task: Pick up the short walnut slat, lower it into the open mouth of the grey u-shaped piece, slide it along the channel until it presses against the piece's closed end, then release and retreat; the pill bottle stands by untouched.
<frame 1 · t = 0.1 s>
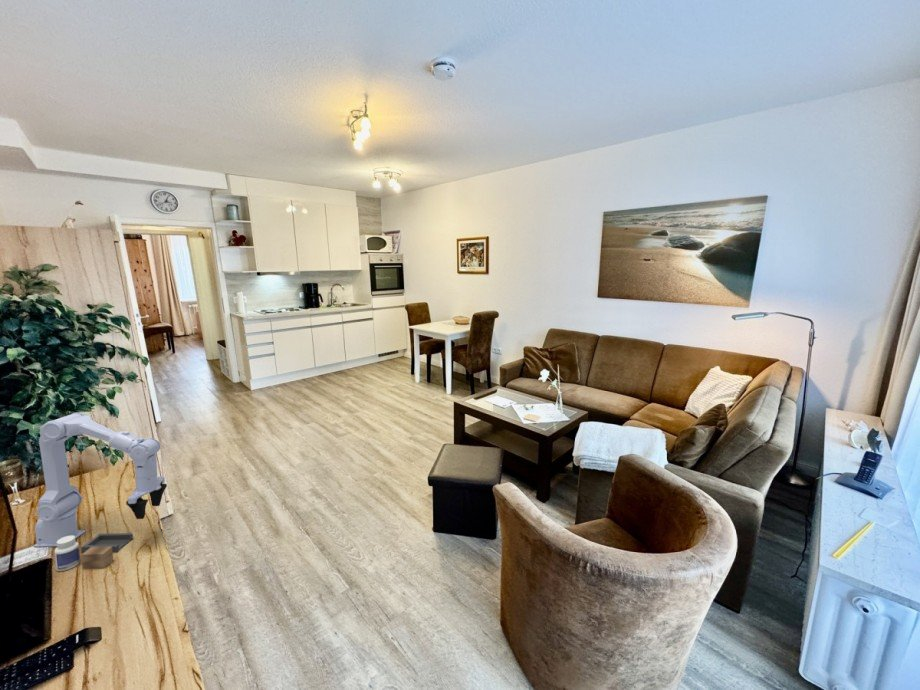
hand: (148, 511, 128), 10 cm above the table, fingers open, 7 cm apart
grey u-shaped piece: (107, 545, 125), on the table
pill bottle: (68, 566, 116), on the table
walnut slat: (98, 565, 117), on the table
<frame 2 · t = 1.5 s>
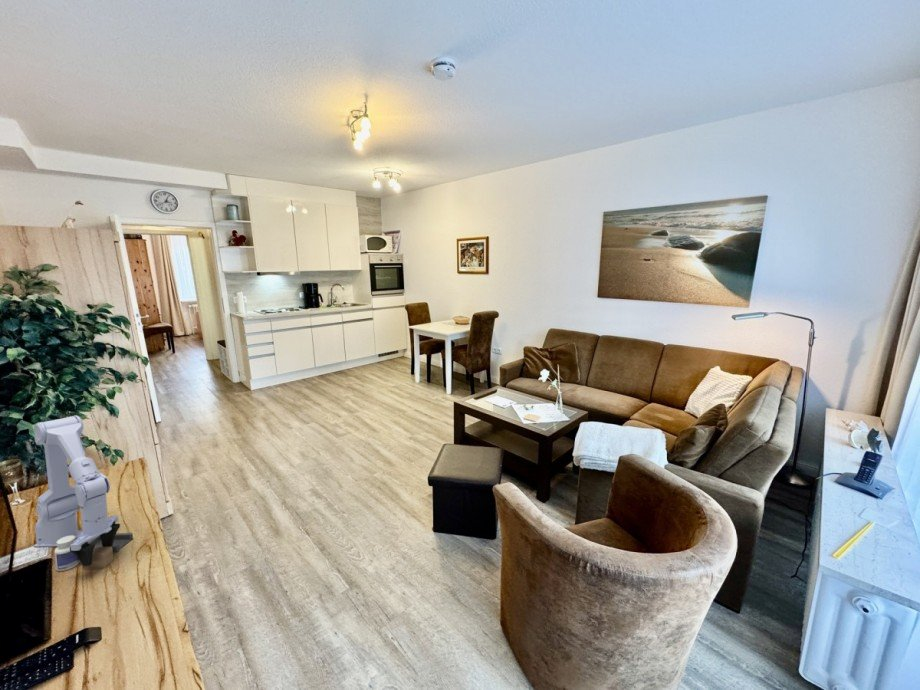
hand: (97, 556, 116), 3 cm above the table, fingers open, 7 cm apart
nothing on the table moved.
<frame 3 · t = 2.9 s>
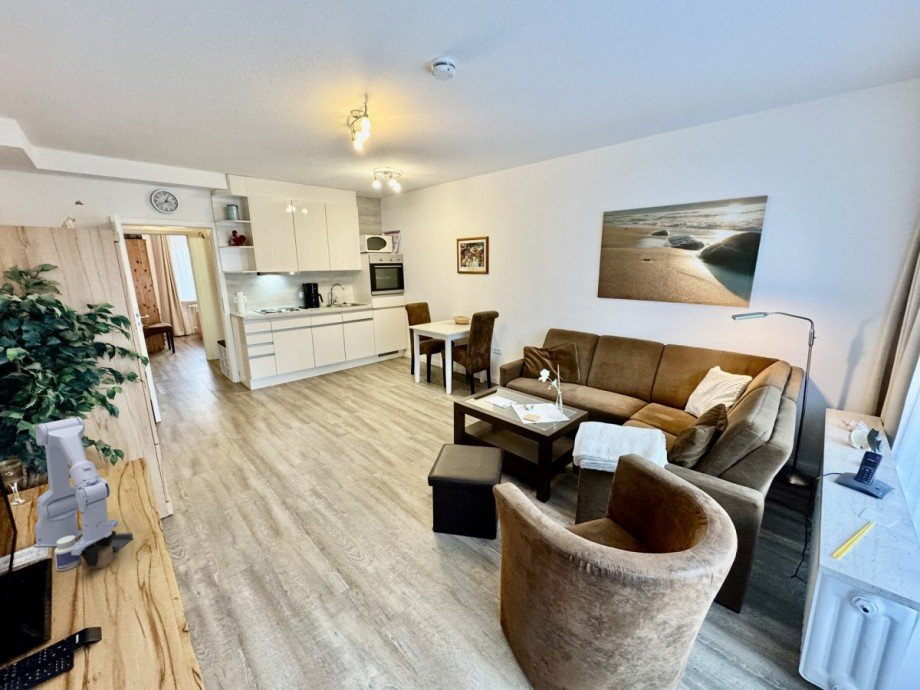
hand: (97, 560, 116), 1 cm above the table, fingers closed on walnut slat, 3 cm apart
walnut slat: (98, 564, 117), on the table, touching gripper
everything else where it was.
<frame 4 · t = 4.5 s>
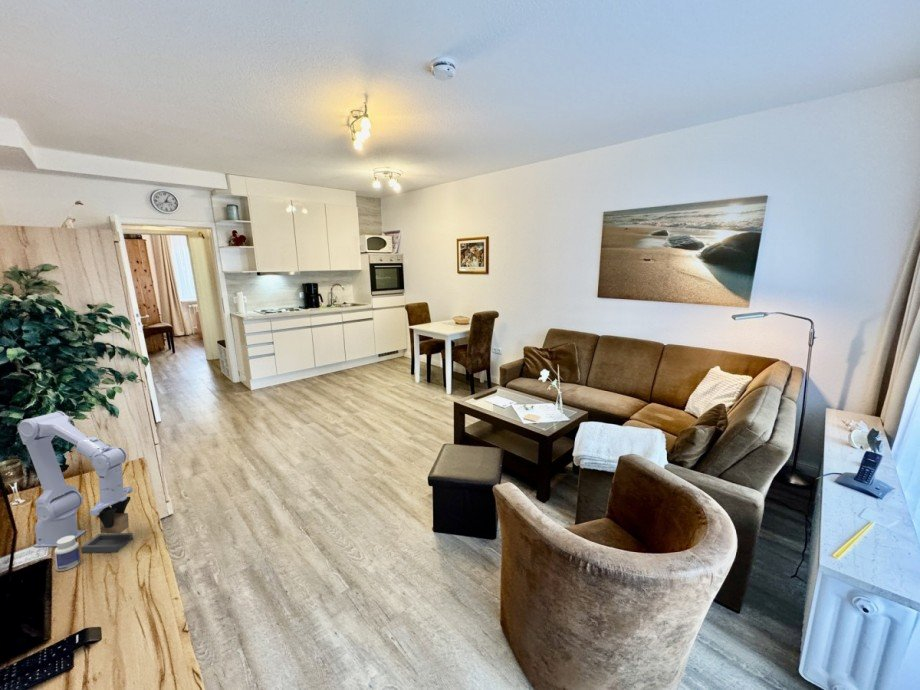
hand: (113, 523, 124), 8 cm above the table, fingers closed on walnut slat, 3 cm apart
walnut slat: (114, 529, 124), point 6 cm above the table, touching gripper
everything else where it was.
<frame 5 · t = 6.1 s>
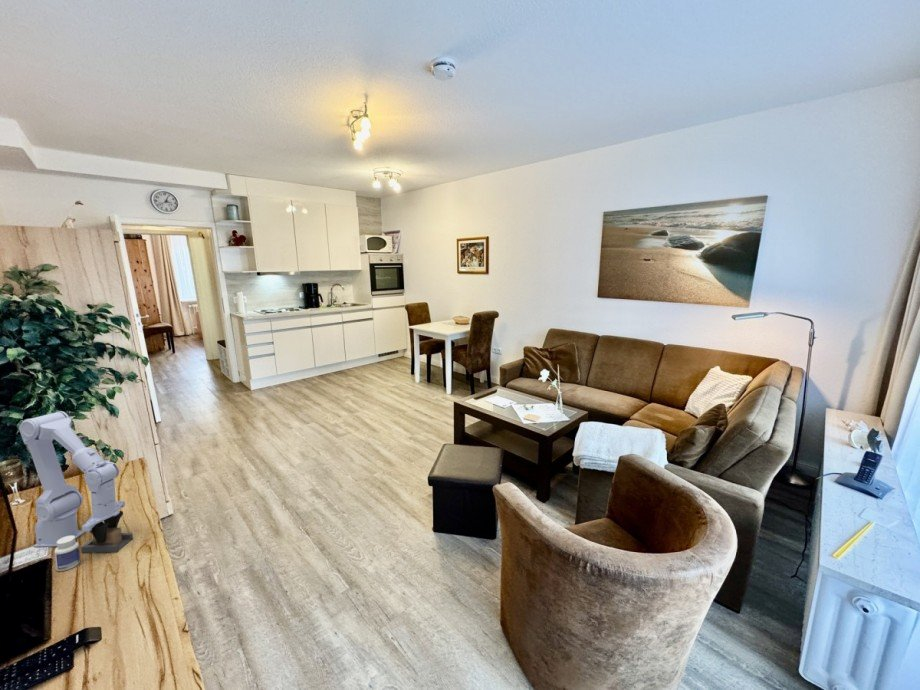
hand: (106, 538, 125), 3 cm above the table, fingers closed on walnut slat, 3 cm apart
walnut slat: (108, 544, 125), point 1 cm above the table, touching gripper
everything else where it was.
when the fingers open (3 cm above the table, at t = 6.6 s): walnut slat stays where it is, resting on grey u-shaped piece.
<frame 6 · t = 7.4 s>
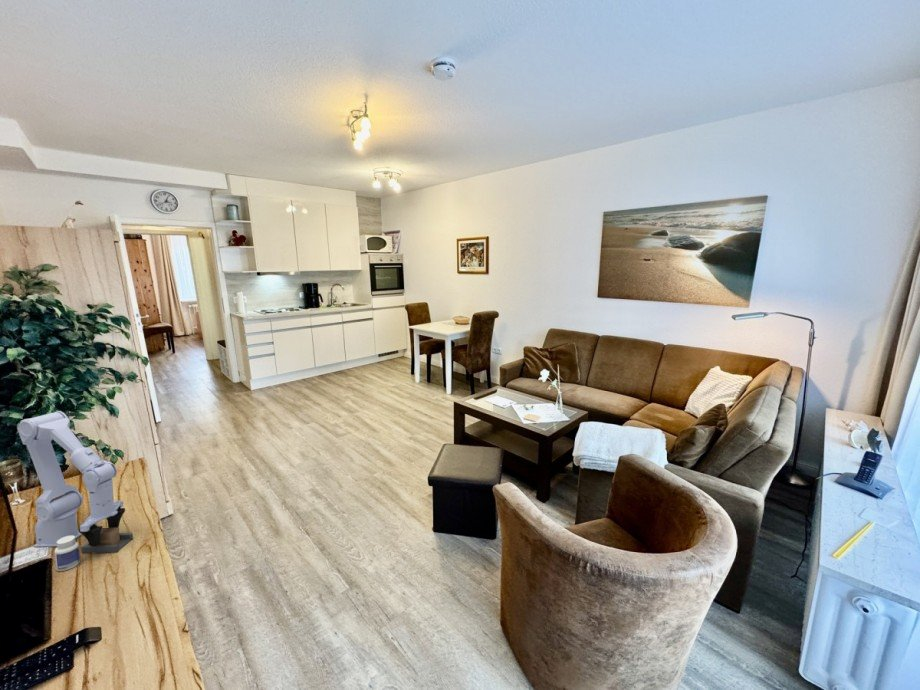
hand: (104, 538, 124), 3 cm above the table, fingers open, 7 cm apart
walnut slat: (106, 544, 125), resting on grey u-shaped piece
everything else where it was.
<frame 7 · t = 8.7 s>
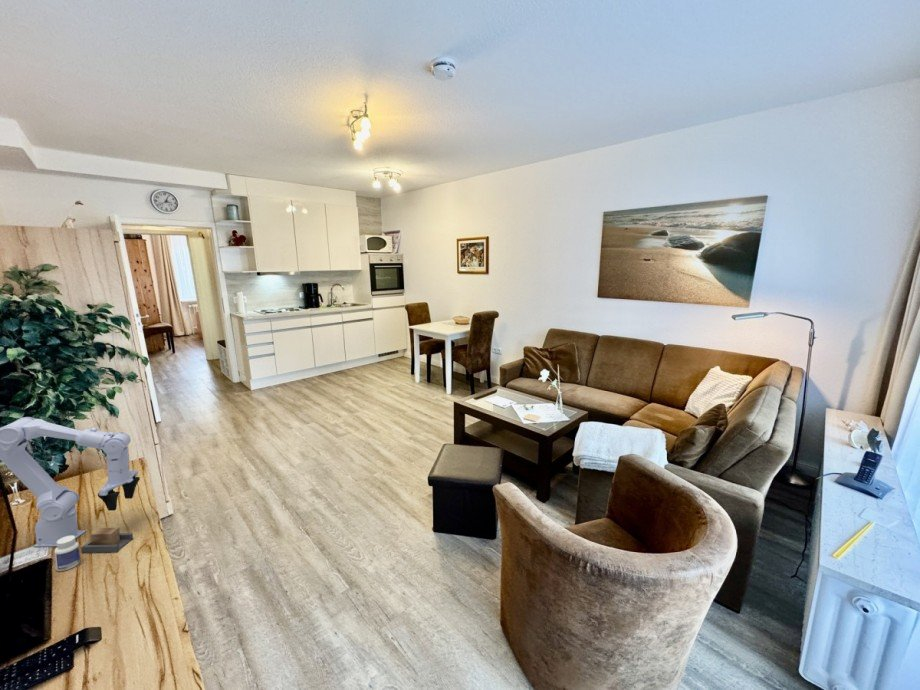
hand: (120, 503, 132), 10 cm above the table, fingers open, 7 cm apart
nothing on the table moved.
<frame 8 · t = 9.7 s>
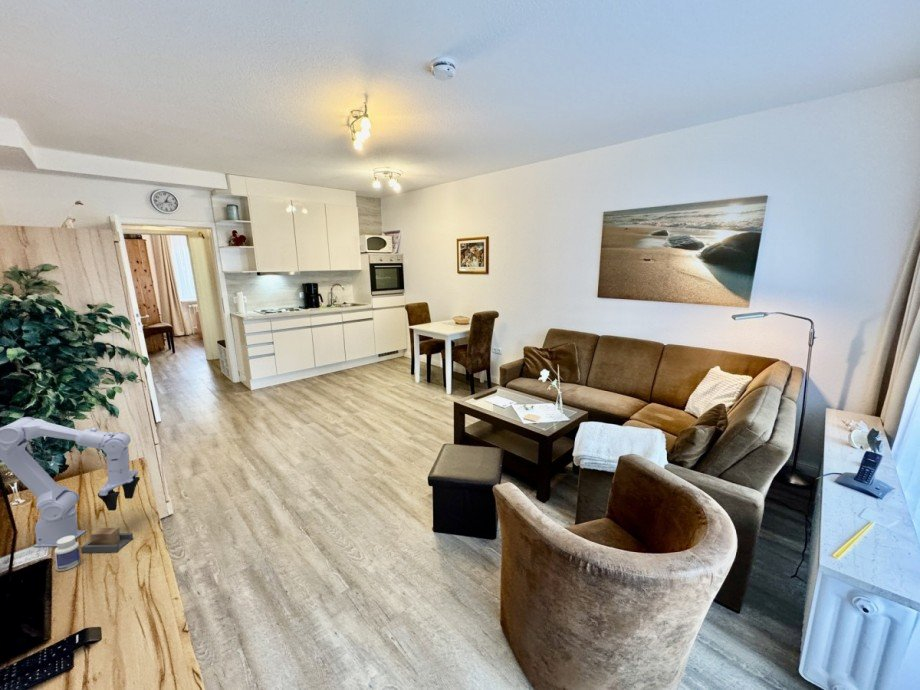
hand: (120, 503, 132), 10 cm above the table, fingers open, 7 cm apart
nothing on the table moved.
at the end: walnut slat 0.5 cm off-centre on the grey u-shaped piece, point 0.5 cm above the grey u-shaped piece's base; walnut slat tilted 0°; the gripper is holding nothing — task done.
